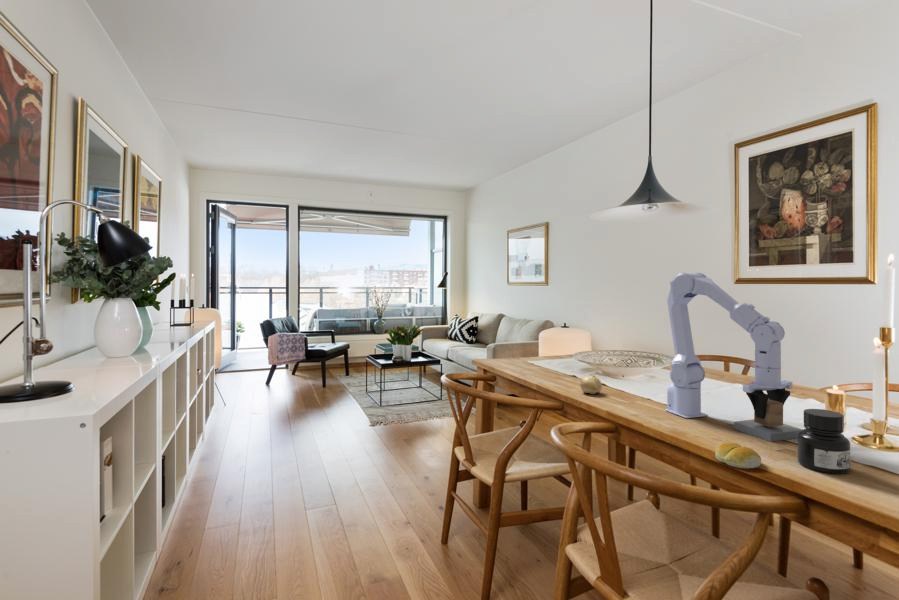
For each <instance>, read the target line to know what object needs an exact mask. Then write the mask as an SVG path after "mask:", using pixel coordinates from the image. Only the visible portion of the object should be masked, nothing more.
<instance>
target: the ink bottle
mask: <svg viewBox="0 0 899 600" xmlns="http://www.w3.org/2000/svg"><path fill="white" fill-rule="evenodd" d="M844 422H845V415H844V414H843V413H841V412H838V411H833V410H829V409H822V408H807V409H804V410H803V427H804V429H803V431H801V432H799V434H798V438H797V462H798V463H799V465H802V466H804V467H806V468H808V469H811V470H813V471H815V472H816V471H817V472H820V473H825V474H838V475H839V474H847V473H849V472H850V471H851V442H850V440H849V439H848V438H847V437H846V436H845V435H844V434H843V433H844V429H845V423H844Z"/></svg>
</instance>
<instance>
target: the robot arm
mask: <svg viewBox="0 0 899 600" xmlns="http://www.w3.org/2000/svg"><path fill="white" fill-rule="evenodd" d="M669 285H670V289H669V292H668V296H667V299H666V300H667V301H666V302H667V307H668V315H669V321H670V329H671V335H672V342H673V348H674V349H673V350H674V354H675V355H674V357H673V359H672V360H671V362H670V366H671V368H670V372H669V378H670V380H671V382H672V383H670V385H669V386H668V387H667V390H666V406H667V408H665V409H664V411H666V412H669V413H671V414H673V415H675V416H676V415H677V416H679V417H682V418H683V419H684V418H685V419H693V418H701V417H708V416H709V415H708V414H707V413H704V412H702V411H701V410H702V399H701V397H702V393H701V392H702V389H701V387H702V386H701V385H702V382H703V381H704V380H705V377H706V371H705V369H704V367H703V365H702V363H701V359H700V358H699V357H698V356H697V355H696V354H695V346H694V339H693V335H692V334H693V333H692V329H691V327H692V326H691V322H690V321H691V319H690V315H689V308H688V304H690V302H691V301H692V300H693V299H694V298H695V297H697V296H698V295H700V296H706V297H707V298H709V299H710V300H711V301H713V302H715V303H716V304H718V305H719V306H721V307H722V308H723V309H725V310H726V311H727V312H729V318H730V319H731V320H732V321H733V322H735V324H737V325H738V326H739V327H740V328H742V329H743V330H745V331H746V332H747V333H749V334H750V338H751V340H752V341H753V342H754V381H752V382H748V383H743V384H742V392H744V393H745V394H746V396H747V397H748V399H749V400H750V402H751V405H752V408H753V411H755V415H756V417H758V418H762V419H765V415H766V405H767V401H768V399H770V400H774V401H777V402H781V403H783V406H784V405H785V403H786V401H787V400H788V398H789V397H790V396H791V391H790V390H792V389H793V381H790V380H782V368H781V367H782V351H781V350H782V348H781V347H782V345H781V344H782V341H783V339H784V337H785V334H786V333H785V330H784V329H785V328H784V327H783V326H782V325H781V324H780V322H777V321H774V320H771V318H769V317H768V316H765V315H763V314H761V313H760V312H759V311H757V310H756V309H755V308H756V306H755V305H754V304H751V303H750V304H748V303H747V302H746V303H745V302H744V303H739V302H738V301H737V300H736V299H734V298H733V297H732V296H731V295H729V294H728V293H727V292H726V291H725V290H723V288H721V287H720V285H718V284H717V283H715V281H714V280H713V279H712V278H710V277H708V276H706V275H705V274H704V273H701V272H694V273H693V272H692V273H690V272H688V273H686V272H680V273H678V274H676V275H675V276H674V277H673V278H672V279H671V281H670V282H669ZM770 320H771V321H770ZM787 389H788V390H787ZM765 392H766V393H765Z"/></svg>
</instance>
